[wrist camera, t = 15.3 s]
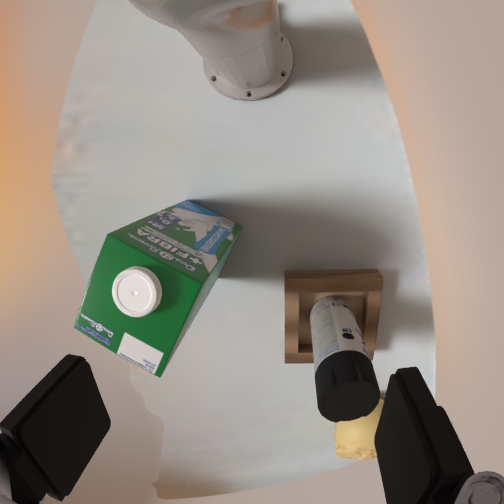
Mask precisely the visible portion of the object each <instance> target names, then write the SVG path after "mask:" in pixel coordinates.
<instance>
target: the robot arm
mask: <svg viewBox="0 0 504 504" xmlns="http://www.w3.org/2000/svg"><path fill="white" fill-rule="evenodd" d="M128 1H129V2H130V3H131V4H132V5H133V6H134V7H135V8H137V9H138V10H139V11H141V12H142V13H143V14H145V15H146V16H148V17H149V18H151V19H153V20H155V21H157V22H159V23H161V24H163V25H166V26H168V27H171V28H173V29H175V30H177V31H178V32H180V33H181V34H182V35H183V36H184V37H185V38H186V39H187V41H188V42H189V43H190V44H191V45H192V46H193V47H194V48H195V50H196V51H197V52H198V53H199V54H200V55H201V56H202V57H203V68H204V72H205V75H206V77H207V79H208V81H209V82H210V84H211V85H212V86H213V87H214V88H215V89H216V90H217V91H219V92H220V93H222V94H223V95H225V96H227V97H230V98H233V99H236V100H243V101H249V100H257V99H261V98H264V97H267V96H269V95H271V94H273V93H274V92H276V91H277V90H278V89H280V88H281V87H282V86H283V85H284V83H285V82H286V81H287V79H288V77H289V75H290V73H291V70H292V67H293V52H292V48H291V45H290V43H289V42H288V40H287V38H286V37H285V36H284V35H283V34H282V33H281V32H280V22H279V10H278V3H277V0H128ZM281 40H282V42H281ZM282 74H285V76H284V77H283V76H281V75H282ZM214 79H217V80H216V81H214ZM248 94H251V96H250V97H249V96H248ZM110 425H111V421H110V418H109V415H108V413H107V410H106V408H105V405H104V403H103V400H102V398H101V395H100V392H99V390H98V387H97V384H96V382H95V379H94V376H93V373H92V370H91V367H90V365H89V363H88V362H86V359H84V357H81V356H76V355H71V354H69V355H66V356H65V357H64V358H63V359H62V360H61V361H60V362H59V363H58V364H57V365H56V366H55V367H54V368H53V369H52V370H51V371H50V372H49V373H48V374H47V375H46V376H45V377H44V378H43V379H42V380H41V381H40V382H39V383H38V384H37V385H36V386H35V387H34V388H33V389H32V390H31V391H30V392H29V393H28V394H27V395H26V396H25V397H24V398H23V399H22V400H21V401H20V402H19V404H18V405H17V406H16V407H15V408H14V409H13V410H12V411H11V412H10V413H9V414H8V415H7V416H6V417H5V418H4V419H3V421H2V422H1V423H0V429H1V431H2V433H1V434H0V504H46V503H45V498H44V496H45V494H46V493H47V494H48V495H49V496H50V497H52V498H54V499H57V500H59V501H61V502H62V500H63V499H64V497H65V496H67V495H69V494H70V493H71V491H72V489H73V488H74V486H75V484H76V482H77V481H78V479H79V478H80V476H81V474H82V472H83V471H84V469H85V468H86V466H87V464H88V463H89V461H90V459H91V458H92V456H93V455H94V453H95V451H96V450H97V448H98V447H99V445H100V443H101V442H102V440H103V438H104V437H105V435H106V434H107V432H108V430H109V429H110ZM374 445H375V450H376V454H377V458H378V463H379V468H380V472H381V477H382V482H383V487H384V492H385V497H386V502H387V504H504V477H503V476H502V475H500V474H498V473H495V472H490V471H484V472H479V473H476V474H474V471H473V469H472V466H471V464H470V462H469V460H468V458H467V455H466V453H465V451H464V449H463V447H462V444H461V442H460V440H459V438H458V436H457V434H456V432H455V430H454V428H453V426H452V424H451V422H450V420H449V418H448V416H447V414H446V412H445V410H444V409H443V408H442V407H441V406H437V404H436V402H435V400H434V398H433V396H432V394H431V392H430V390H429V388H428V387H427V385H426V383H425V381H424V379H423V377H422V375H421V373H420V371H419V369H418V368H417V367H409V368H400V369H397V371H396V374H392V375H391V376H390V379H389V383H388V388H387V392H386V396H385V400H384V404H383V408H382V411H381V415H380V419H379V422H378V426H377V429H376V433H375V437H374Z"/></svg>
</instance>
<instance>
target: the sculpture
mask: <svg viewBox="0 0 504 504" xmlns="http://www.w3.org/2000/svg"><path fill="white" fill-rule="evenodd" d="M383 404H384V400H383V399H380V400H379V404H378V405H377V407H376V408H375V409H374V410H373V412H372V413H370V414H369V415H368V416H366V417H361V418H359V419H355V420H352V421H340V422H337V423H336V424H335V432H334V440H335V448H336V455H337V456H338V457H340V458H353V459H360V460H370V459H372V458H374V457H377V454H376V450H375V445H374V437H375V433H376V429H377V426H378V422H379V419H380V415H381V411H382V408H383Z"/></svg>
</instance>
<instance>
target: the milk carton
mask: <svg viewBox="0 0 504 504" xmlns="http://www.w3.org/2000/svg"><path fill="white" fill-rule="evenodd" d="M241 228H242V226H241V225H239V224H237V223H235V222H233V221H231V220H228V219H226V218H224V217H222V216H220V215H218V214H216V213H214V212H212V211H210V210H208V209H206V208H204V207H202V206H200V205H198V204H195V203H193V202H191V201H189V200H185V201H183V202H180V203H178V204H176V205H173V206H171V207H168V208H166V209H164V210H161V211H159V212H157V213H154V214H152V215H150V216H147V217H145V218H143V219H140V220H138V221H136V222H133V223H131V224H129V225H127V226H124V227H122V228H120V229H118V230H116V231H113V232H111V233H109V234H107V237H106V239H105V241H104V244H103V246H102V249H101V251H100V254H99V256H98V259H97V262H96V264H95V267H94V270H93V272H92V275H91V278H90V281H89V283H88V286H87V289H86V292H85V295H84V298H83V301H82V304H81V307H80V310H79V313H78V316H77V319H76V323H75V326H74V328H75V329H77V330H79V331H80V332H82V333H83V334H85V335H86V336H88V337H90V338H91V339H93V340H94V341H96V342H98V343H99V344H101V345H103V346H104V347H106V348H108V349H109V350H111V351H113V352H114V353H116V354H118V355H119V356H121V357H123V358H125V359H126V360H128V361H130V362H132V363H134V364H135V365H137V366H139V367H141V368H143V369H145V370H147V371H148V372H150V373H152V374H154V375H156V376H158V377H161V376H162V374H163V372H164V370H165V368H166V367H167V365H168V363H169V361H170V360H171V358H172V356H173V354H174V353H175V351H176V349H177V348H178V346H179V344H180V342H181V341H182V339H183V337H184V335H185V334H186V332H187V330H188V328H189V327H190V325H191V323H192V321H193V320H194V318H195V316H196V315H197V313H198V311H199V309H200V308H201V306H202V304H203V303H204V301H205V299H206V297H207V296H208V294H209V292H210V291H211V289H212V287H213V285H214V284H215V282H216V280H217V279H218V277H219V274H220V272H221V270H222V268H223V266H224V264H225V262H226V260H227V258H228V256H229V253H230V251H231V249H232V247H233V245H234V243H235V241H236V239H237V237H238V235H239V233H240V230H241Z"/></svg>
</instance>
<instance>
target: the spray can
mask: <svg viewBox="0 0 504 504" xmlns="http://www.w3.org/2000/svg"><path fill="white" fill-rule="evenodd" d="M310 323H311V334H312V345H313V357H314V370H315V383H316V393H317V403H318V409H319V411H320V413H321V415H322V416H323V417H325V418H326V419H328V420H330V421H333V422H335V423H337V422H340V421H352V420H355V419H359V418H361V417H366V416H368V415H369V414H370V413H372V412H373V410H374V409H375V408H376V407H377V405H378V404H379V400H380V390H379V386H378V383H377V379H376V376H375V372H374V369H373V365H372V362H371V359H370V357H369V354H368V351H367V348H366V345H365V342H364V339H363V337H362V334H361V331H360V328H359V326H358V323H357V320H356V317H355V315H354V312H353V309H352V307H351V305H350V304H349V303H348V301H347V300H345V299H344V298H342V297H340V296H333V295H332V296H327V297H324V298H322V299H320V300H318V301H317V302H316V303H315V305H314V306H313V308H312V310H311V314H310Z"/></svg>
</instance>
